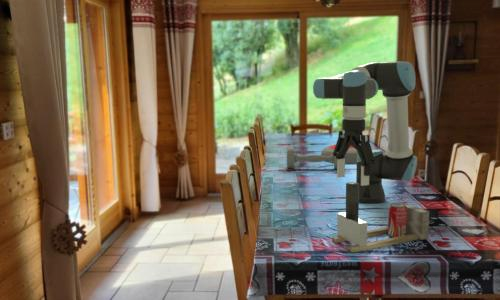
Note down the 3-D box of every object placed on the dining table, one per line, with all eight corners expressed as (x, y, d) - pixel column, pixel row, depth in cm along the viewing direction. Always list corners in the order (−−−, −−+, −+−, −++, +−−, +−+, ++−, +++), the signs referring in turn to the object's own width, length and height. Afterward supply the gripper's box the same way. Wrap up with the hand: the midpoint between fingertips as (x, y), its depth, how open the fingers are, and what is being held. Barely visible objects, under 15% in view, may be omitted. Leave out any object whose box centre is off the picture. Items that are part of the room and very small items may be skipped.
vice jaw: (335, 234, 165) (336, 180, 162) (345, 233, 167) (346, 179, 164) (357, 247, 153) (358, 188, 150) (368, 244, 155) (369, 187, 152)
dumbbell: (288, 168, 298) (288, 148, 299) (340, 169, 293) (340, 148, 293) (286, 168, 286) (286, 147, 286) (341, 169, 280) (341, 148, 281)
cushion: (371, 165, 298) (372, 149, 296) (315, 162, 311) (315, 147, 310) (377, 155, 332) (377, 141, 330) (326, 153, 345) (326, 140, 344)
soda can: (396, 240, 164) (397, 207, 162) (384, 234, 170) (385, 203, 168) (409, 237, 167) (411, 205, 165) (397, 232, 172) (398, 201, 170)
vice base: (330, 240, 165) (330, 213, 164) (400, 227, 178) (401, 202, 176) (353, 253, 153) (354, 224, 151) (428, 238, 165) (429, 211, 163)
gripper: (323, 116, 163) (323, 175, 166) (368, 122, 140) (366, 190, 144) (341, 115, 166) (340, 173, 169) (387, 121, 143) (385, 187, 147)
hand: (352, 181), depth 156 cm, fingers open, 13 cm apart
